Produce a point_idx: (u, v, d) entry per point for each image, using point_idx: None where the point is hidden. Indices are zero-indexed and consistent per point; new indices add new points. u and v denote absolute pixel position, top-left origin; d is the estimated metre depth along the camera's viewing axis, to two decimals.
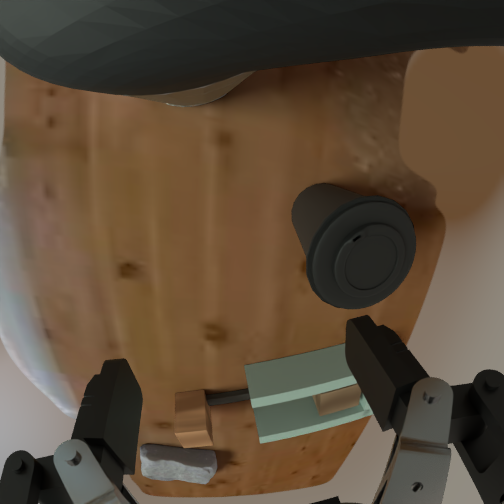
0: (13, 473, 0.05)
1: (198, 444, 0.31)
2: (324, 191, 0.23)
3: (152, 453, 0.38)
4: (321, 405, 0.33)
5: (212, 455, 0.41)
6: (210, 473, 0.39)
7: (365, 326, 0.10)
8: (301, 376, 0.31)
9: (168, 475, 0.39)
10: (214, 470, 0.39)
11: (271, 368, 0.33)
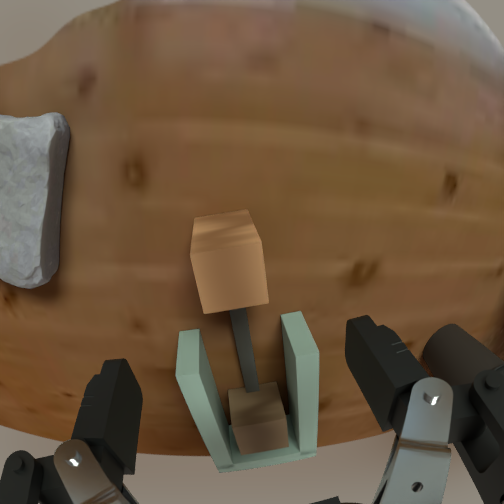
0: (13, 473, 0.05)
1: (208, 287, 0.16)
2: None
3: (59, 144, 0.16)
4: (259, 424, 0.23)
5: (55, 269, 0.20)
6: (20, 280, 0.17)
7: (365, 326, 0.10)
8: None
9: None
10: (29, 286, 0.18)
11: None
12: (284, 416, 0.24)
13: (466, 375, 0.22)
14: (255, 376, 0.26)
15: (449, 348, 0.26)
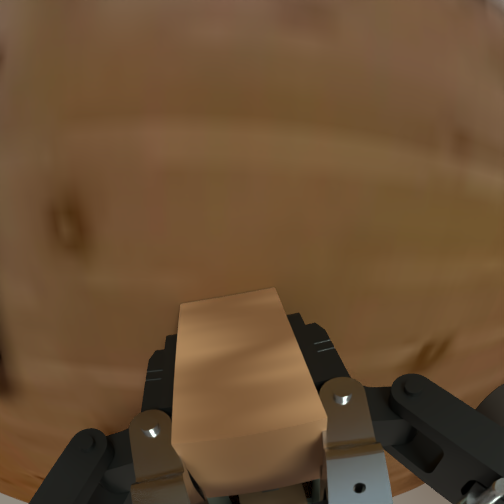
0: (79, 451, 0.06)
1: (213, 476, 0.07)
2: None
3: None
4: None
5: None
6: None
7: (292, 323, 0.11)
8: None
9: None
10: None
11: None
12: None
13: None
14: None
15: None
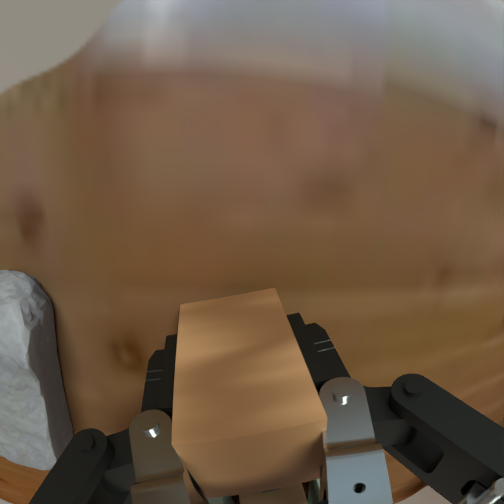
0: (79, 451, 0.06)
1: (213, 477, 0.07)
2: None
3: (40, 339, 0.10)
4: None
5: None
6: (36, 467, 0.11)
7: (292, 323, 0.11)
8: None
9: None
10: (47, 469, 0.12)
11: None
12: None
13: None
14: None
15: None
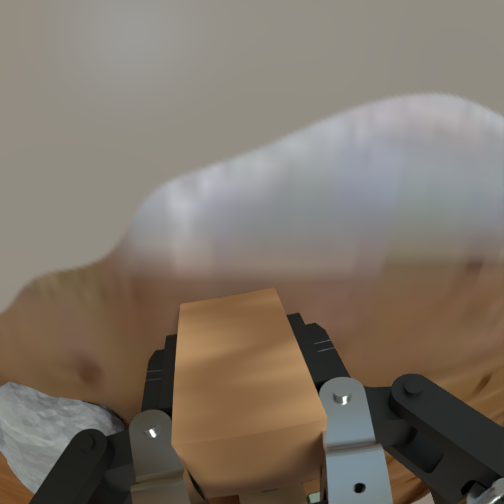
0: (79, 451, 0.06)
1: (213, 477, 0.07)
2: None
3: None
4: None
5: None
6: None
7: (293, 323, 0.11)
8: None
9: (43, 470, 0.12)
10: None
11: None
12: None
13: None
14: None
15: None
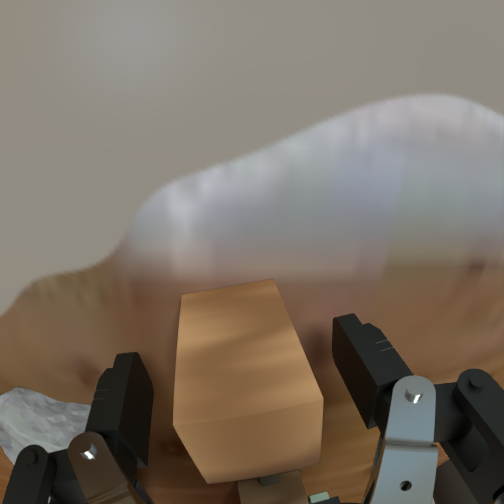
0: (25, 467, 0.05)
1: (213, 460, 0.07)
2: None
3: None
4: None
5: None
6: None
7: (350, 324, 0.10)
8: None
9: None
10: None
11: None
12: None
13: None
14: None
15: (449, 483, 0.23)
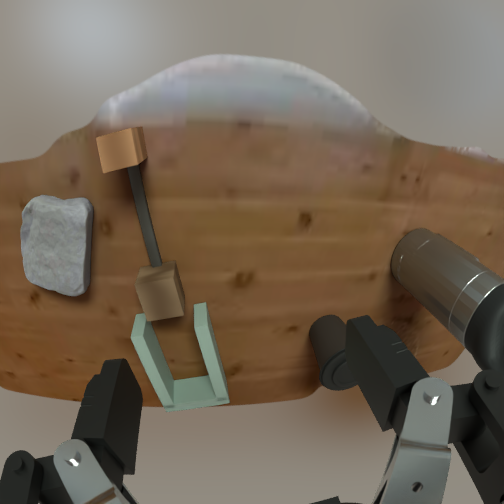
0: (13, 473, 0.05)
1: (105, 156, 0.26)
2: None
3: (89, 218, 0.32)
4: (154, 282, 0.34)
5: (88, 284, 0.36)
6: (70, 292, 0.33)
7: (365, 326, 0.10)
8: (216, 351, 0.40)
9: (47, 239, 0.31)
10: (75, 295, 0.34)
11: (210, 325, 0.41)
12: (172, 277, 0.34)
13: (327, 351, 0.39)
14: (156, 250, 0.36)
15: (321, 332, 0.42)
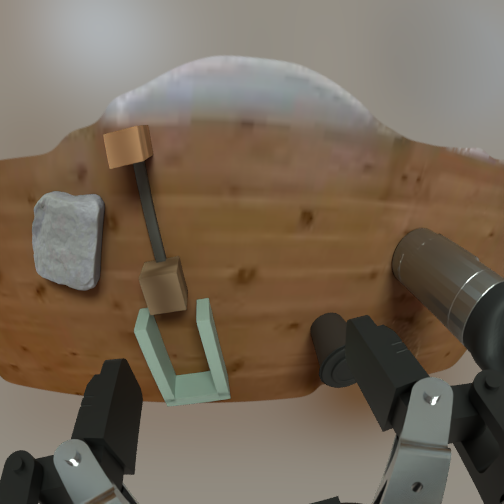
0: (13, 473, 0.05)
1: (111, 152, 0.27)
2: None
3: (100, 214, 0.34)
4: (157, 276, 0.35)
5: (98, 279, 0.38)
6: (80, 286, 0.35)
7: (365, 326, 0.10)
8: (217, 346, 0.41)
9: (59, 234, 0.32)
10: (85, 289, 0.35)
11: (213, 320, 0.42)
12: (175, 271, 0.35)
13: (327, 348, 0.39)
14: (160, 246, 0.37)
15: (322, 329, 0.43)
